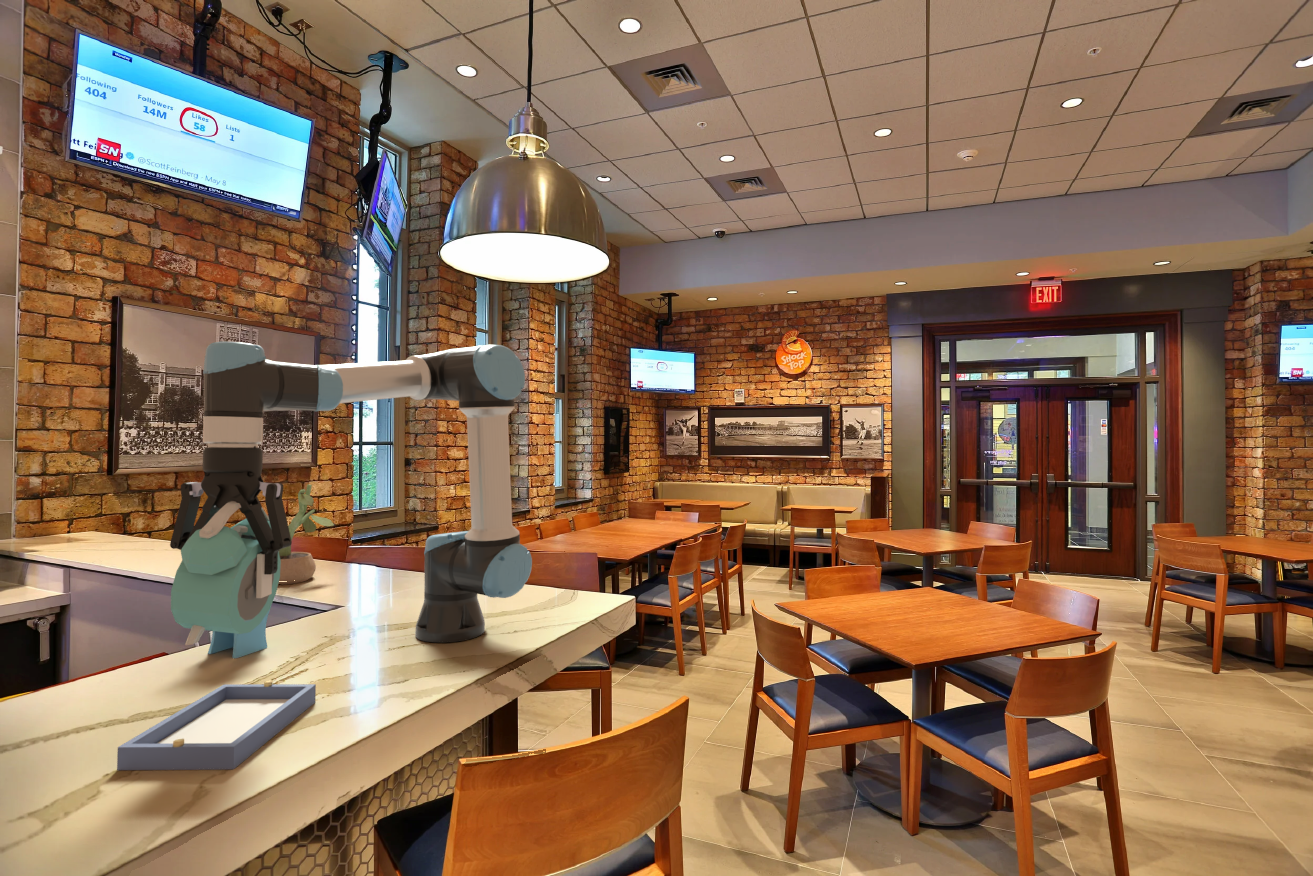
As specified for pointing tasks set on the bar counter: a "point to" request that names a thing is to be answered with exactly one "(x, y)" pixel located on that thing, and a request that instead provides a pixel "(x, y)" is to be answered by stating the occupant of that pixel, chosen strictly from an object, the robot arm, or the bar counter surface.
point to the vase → (240, 640)
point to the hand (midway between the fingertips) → (230, 595)
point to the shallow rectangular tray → (217, 728)
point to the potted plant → (300, 563)
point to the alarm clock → (220, 579)
